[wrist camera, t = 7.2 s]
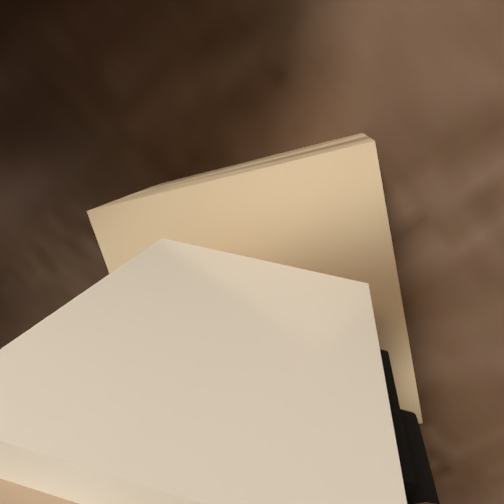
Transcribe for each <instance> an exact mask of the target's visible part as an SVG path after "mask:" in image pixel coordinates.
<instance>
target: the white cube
mask: <svg viewBox="0 0 504 504" xmlns="http://www.w3.org/2000/svg"><path fill="white" fill-rule="evenodd" d="M0 504H407V500H406V494H405V489H404V483H403V477H402V472H401V466H400V460H399V455H398V449H397V443H396V438H395V432H394V426H393V421H392V415H391V409H390V403H389V398H388V392H387V386H386V381H385V375H384V369H383V364H382V358H381V352H380V347H379V341H378V335H377V330H376V324H375V318H374V313H373V307H372V301H371V296H370V290H369V284H368V283H364V282H359V281H355V280H350V279H346V278H341V277H337V276H332V275H328V274H323V273H318V272H314V271H309V270H305V269H300V268H296V267H291V266H287V265H282V264H277V263H273V262H268V261H264V260H259V259H255V258H250V257H246V256H241V255H237V254H232V253H227V252H223V251H218V250H214V249H209V248H205V247H200V246H196V245H191V244H187V243H182V242H177V241H173V240H168V239H164V238H161V239H160V240H158V241H157V242H155V243H154V244H153V245H151V246H150V247H148V248H147V249H145V250H144V251H142V252H141V253H139V254H138V255H137V256H135V257H134V258H132V259H131V260H129V261H128V262H126V263H125V264H123V265H122V266H121V267H119V268H118V269H116V270H115V271H113V272H112V273H110V274H109V275H107V276H106V277H105V278H103V279H102V280H100V281H99V282H97V283H96V284H94V285H93V286H91V287H90V288H89V289H87V290H86V291H84V292H83V293H81V294H80V295H78V296H77V297H75V298H74V299H73V300H71V301H70V302H68V303H67V304H65V305H64V306H62V307H61V308H59V309H58V310H57V311H55V312H54V313H52V314H51V315H49V316H48V317H46V318H45V319H43V320H42V321H41V322H39V323H38V324H36V325H35V326H33V327H32V328H30V329H29V330H27V331H26V332H25V333H23V334H22V335H20V336H19V337H17V338H16V339H14V340H13V341H11V342H10V343H9V344H7V345H6V346H4V347H3V348H1V349H0Z"/></svg>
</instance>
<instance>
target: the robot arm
mask: <svg viewBox="0 0 504 504" xmlns="http://www.w3.org/2000/svg"><path fill="white" fill-rule="evenodd" d="M380 352H381V358H382V364H383V369H384V375H385V381H386V386H387V392H388V398H389V403H390V409H391V415H392V421H393V426H394V432H395V438H396V443H397V449H398V455H399V460H400V466H401V472H402V477H403V483H404V489H405V494H406V500H407V504H439V500H438V496H437V492H436V488H435V484H434V481H433V477H432V473H431V469H430V465H429V461H428V458H427V454H426V450H425V446H424V442H423V438H422V434H421V431H420V427H419V423H418V419H417V417H416V414H415V413H413V412H410V411H406V410H403V409H400V406H399V401H398V396H397V391H396V386H395V382H394V377H393V372H392V367H391V363H390V358H389V353H388V351H386V350H382V349H380Z"/></svg>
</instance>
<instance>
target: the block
mask: <svg viewBox="0 0 504 504" xmlns="http://www.w3.org/2000/svg"><path fill="white" fill-rule="evenodd" d="M87 213H88V216H89V219H90V222H91V224H92V227H93V230H94V233H95V235H96V238H97V241H98V244H99V246H100V249H101V252H102V255H103V257H104V260H105V263H106V266H107V268H108V271H109V274H110V273H112V272H113V271H115V270H116V269H118V268H119V267H121V266H122V265H123V264H125V263H126V262H128V261H129V260H131V259H132V258H134V257H135V256H137V255H138V254H139V253H141V252H142V251H144V250H145V249H147V248H148V247H150V246H151V245H153V244H154V243H155V242H157V241H158V240H160V239H161V238H164V239H168V240H173V241H177V242H182V243H187V244H191V245H196V246H200V247H205V248H209V249H214V250H218V251H223V252H227V253H232V254H237V255H241V256H246V257H250V258H255V259H259V260H264V261H268V262H273V263H277V264H282V265H287V266H291V267H296V268H300V269H305V270H309V271H314V272H318V273H323V274H328V275H332V276H337V277H341V278H346V279H350V280H355V281H359V282H364V283H368V284H369V290H370V296H371V301H372V307H373V313H374V318H375V324H376V330H377V335H378V341H379V347H380V349H382V350H386V351H388V353H389V358H390V363H391V367H392V372H393V377H394V382H395V386H396V391H397V396H398V401H399V406H400V409H403V410H406V411H410V412H413V413H415V414H416V417H417V419H418V423H423V421H422V415H421V409H420V404H419V398H418V392H417V386H416V380H415V374H414V368H413V362H412V357H411V351H410V345H409V339H408V333H407V327H406V321H405V315H404V309H403V304H402V298H401V292H400V286H399V280H398V274H397V268H396V262H395V256H394V251H393V245H392V239H391V233H390V227H389V221H388V215H387V209H386V204H385V198H384V192H383V186H382V180H381V174H380V168H379V162H378V156H377V151H376V145H375V141H374V140H372V139H371V138H369V137H368V136H366V135H365V134H364V133H360V134H356V135H352V136H348V137H344V138H340V139H336V140H332V141H328V142H324V143H320V144H316V145H312V146H308V147H304V148H300V149H296V150H292V151H288V152H284V153H280V154H276V155H272V156H268V157H264V158H260V159H256V160H252V161H248V162H244V163H240V164H236V165H232V166H228V167H224V168H220V169H216V170H212V171H208V172H204V173H200V174H196V175H192V176H188V177H184V178H180V179H176V180H172V181H168V182H164V183H160V184H157V185H155V186H152V187H149V188H147V189H144V190H141V191H139V192H136V193H133V194H131V195H128V196H125V197H123V198H120V199H118V200H115V201H112V202H110V203H107V204H104V205H102V206H99V207H96V208H94V209H91V210H88V211H87Z"/></svg>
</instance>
